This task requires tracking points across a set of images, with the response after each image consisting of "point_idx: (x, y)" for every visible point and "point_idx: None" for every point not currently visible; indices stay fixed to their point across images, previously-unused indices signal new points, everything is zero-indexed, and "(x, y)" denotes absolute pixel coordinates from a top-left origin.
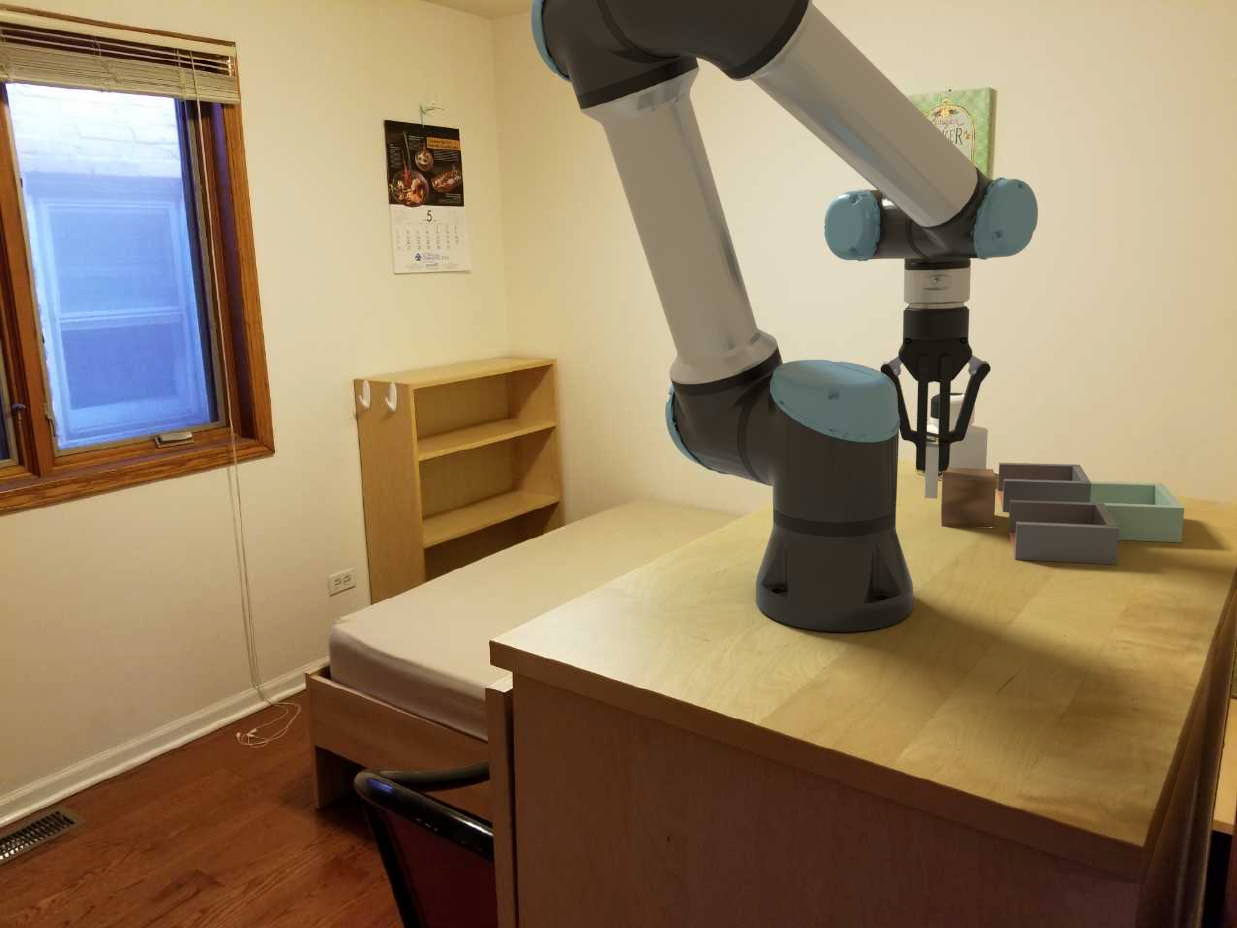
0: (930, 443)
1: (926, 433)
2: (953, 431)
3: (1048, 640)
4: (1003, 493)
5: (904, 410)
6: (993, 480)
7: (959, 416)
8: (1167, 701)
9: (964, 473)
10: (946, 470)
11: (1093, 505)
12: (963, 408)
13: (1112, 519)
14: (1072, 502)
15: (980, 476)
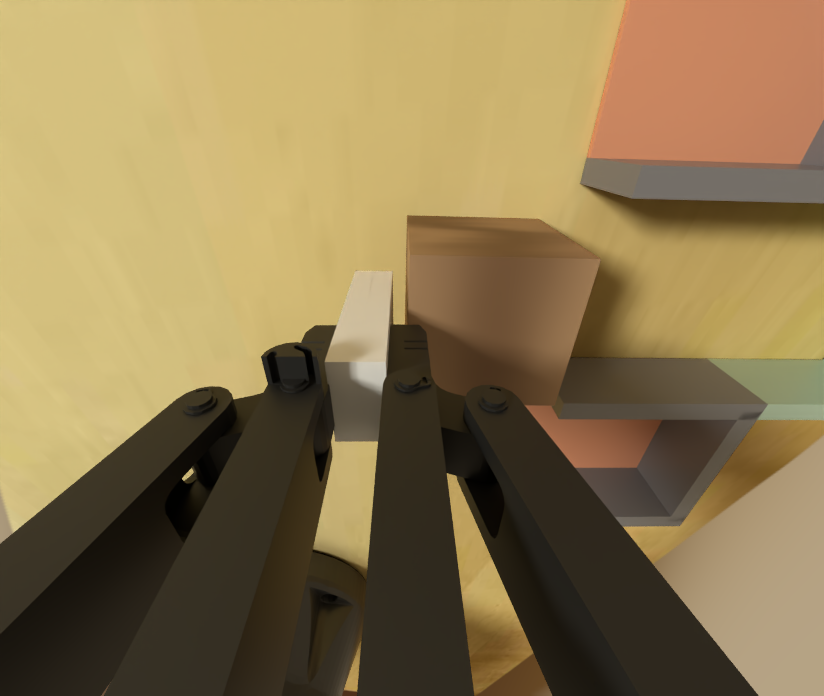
0: (348, 385)
1: (323, 487)
2: (458, 460)
3: (481, 611)
4: (608, 179)
5: (133, 635)
6: (548, 403)
7: (505, 556)
8: (530, 649)
9: (479, 335)
10: (422, 301)
11: (733, 417)
12: (539, 646)
13: (702, 491)
14: (699, 407)
15: (523, 365)
